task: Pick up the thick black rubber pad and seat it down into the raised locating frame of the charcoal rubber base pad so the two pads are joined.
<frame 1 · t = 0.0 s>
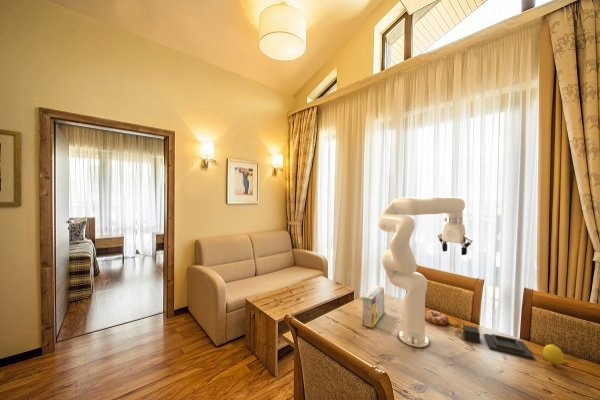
hand: (454, 253, 125), 37 cm above the table, tool pointing down, fingers open, 9 cm apart
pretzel: (436, 321, 127), on the table
snack box: (374, 319, 129), on the table
black pad: (471, 338, 111), on the table
lemon: (553, 365, 93), on the table
base pad: (506, 346, 104), on the table
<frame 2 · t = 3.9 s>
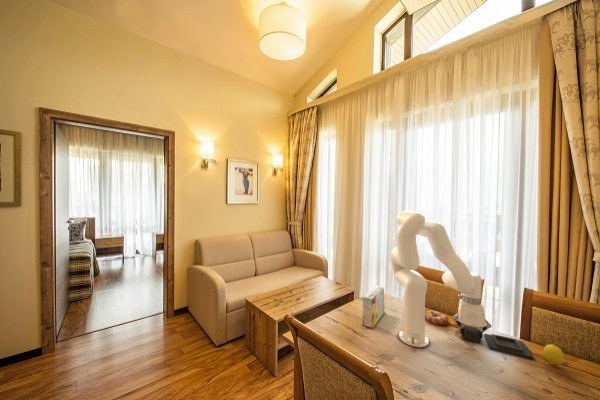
hand: (471, 337, 111), 1 cm above the table, tool pointing down, fingers closed on black pad, 5 cm apart
black pad: (471, 338, 111), on the table, touching gripper
everything else where it was.
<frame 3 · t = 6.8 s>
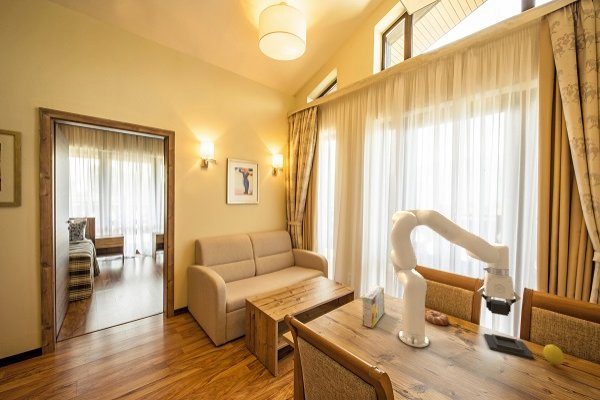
hand: (498, 310, 106), 15 cm above the table, tool pointing down, fingers closed on black pad, 5 cm apart
black pad: (498, 312, 106), point 15 cm above the table, touching gripper
everything else where it was.
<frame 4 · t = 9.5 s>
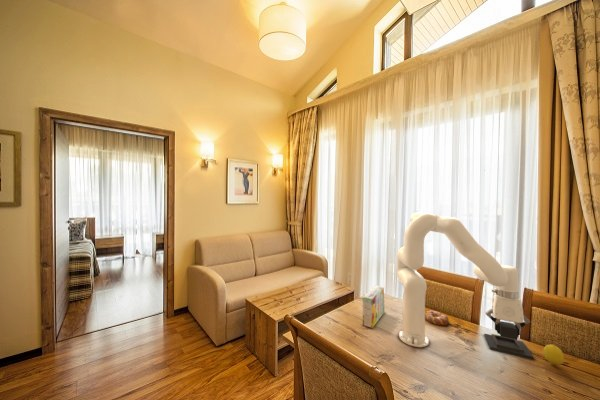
hand: (507, 333, 104), 6 cm above the table, tool pointing down, fingers closed on black pad, 5 cm apart
black pad: (507, 334, 104), point 5 cm above the table, touching gripper
everything else where it was.
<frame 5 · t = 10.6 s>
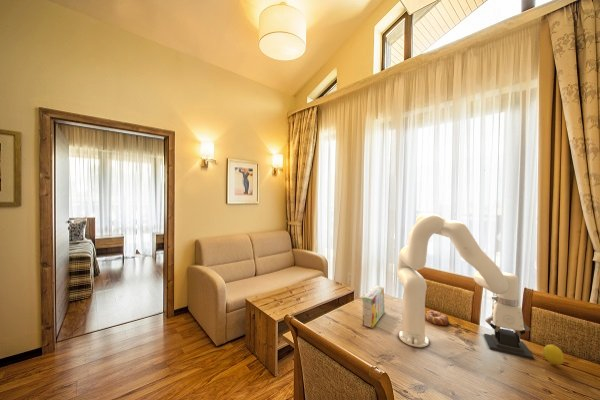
hand: (506, 341, 104), 2 cm above the table, tool pointing down, fingers closed on black pad, 5 cm apart
black pad: (506, 342, 104), point 2 cm above the table, touching gripper
everything else where it was.
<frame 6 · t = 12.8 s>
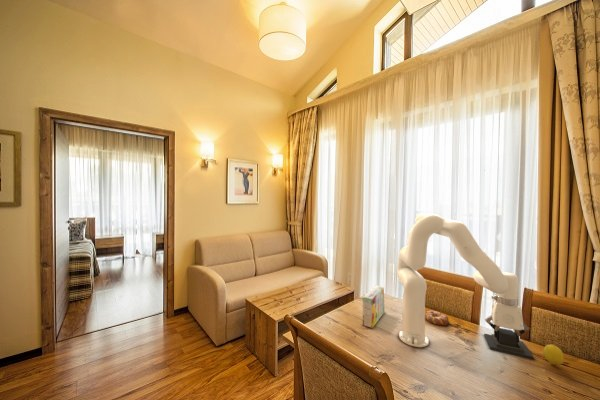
hand: (506, 340, 104), 3 cm above the table, tool pointing down, fingers closed on black pad, 5 cm apart
black pad: (506, 341, 105), point 2 cm above the table, touching gripper
everything else where it was.
when the fingers open (3 cm above the table, at t = 14.9 s): black pad drops 1 cm, resting on base pad.
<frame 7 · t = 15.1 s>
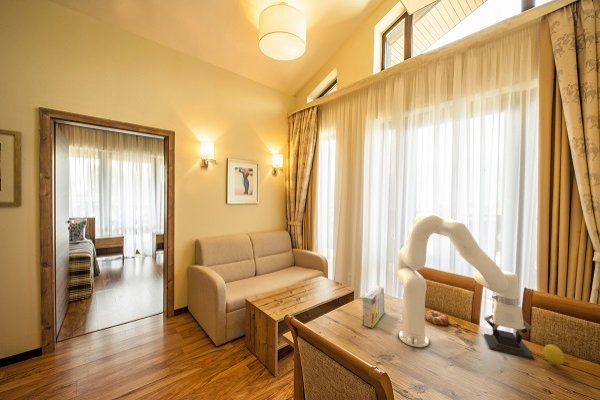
hand: (506, 339, 104), 3 cm above the table, tool pointing down, fingers open, 6 cm apart
black pad: (506, 344, 104), point 1 cm above the table, touching base pad
everything else where it was.
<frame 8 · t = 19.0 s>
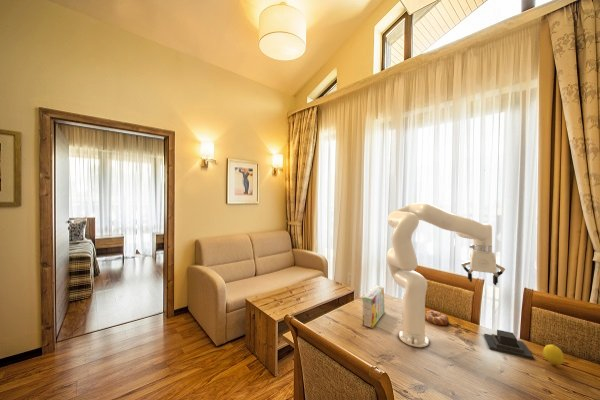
hand: (482, 282, 117), 24 cm above the table, tool pointing down, fingers open, 9 cm apart
nothing on the table moved.
at the end: black pad 0.1 cm off-centre on the base pad, point 1.0 cm above the base pad's base; black pad tilted 0°; the gripper is holding nothing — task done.
